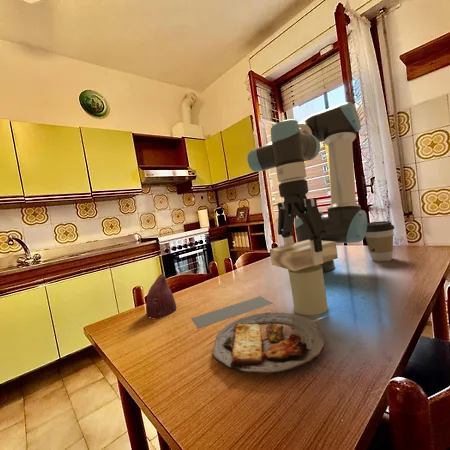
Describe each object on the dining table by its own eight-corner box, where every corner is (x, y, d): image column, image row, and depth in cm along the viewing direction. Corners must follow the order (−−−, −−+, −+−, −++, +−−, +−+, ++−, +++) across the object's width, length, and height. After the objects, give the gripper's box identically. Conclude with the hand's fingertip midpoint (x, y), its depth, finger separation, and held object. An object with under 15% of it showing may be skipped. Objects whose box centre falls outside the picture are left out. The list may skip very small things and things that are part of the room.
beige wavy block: (271, 264, 73) (269, 249, 73) (311, 253, 78) (309, 239, 78) (294, 271, 64) (292, 253, 63) (337, 258, 69) (335, 241, 68)
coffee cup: (360, 258, 112) (356, 224, 111) (386, 254, 112) (382, 220, 111) (376, 264, 100) (371, 226, 99) (405, 259, 100) (400, 221, 99)
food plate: (337, 379, 43) (334, 359, 43) (204, 387, 47) (201, 368, 47) (311, 317, 68) (309, 304, 68) (225, 325, 72) (223, 313, 72)
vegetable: (181, 315, 91) (186, 272, 90) (165, 325, 81) (170, 278, 80) (156, 308, 94) (161, 267, 94) (137, 317, 84) (142, 272, 84)
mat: (191, 319, 78) (191, 318, 78) (260, 297, 87) (260, 296, 86) (198, 329, 70) (198, 328, 70) (273, 304, 79) (272, 303, 79)
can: (329, 301, 74) (323, 261, 73) (327, 316, 66) (321, 270, 65) (296, 301, 78) (290, 262, 77) (291, 315, 70) (284, 272, 69)
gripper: (259, 188, 79) (270, 258, 80) (309, 175, 57) (323, 271, 59) (279, 185, 81) (290, 253, 83) (335, 171, 60) (347, 264, 62)
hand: (303, 261), depth 71 cm, fingers closed on beige wavy block, 10 cm apart
